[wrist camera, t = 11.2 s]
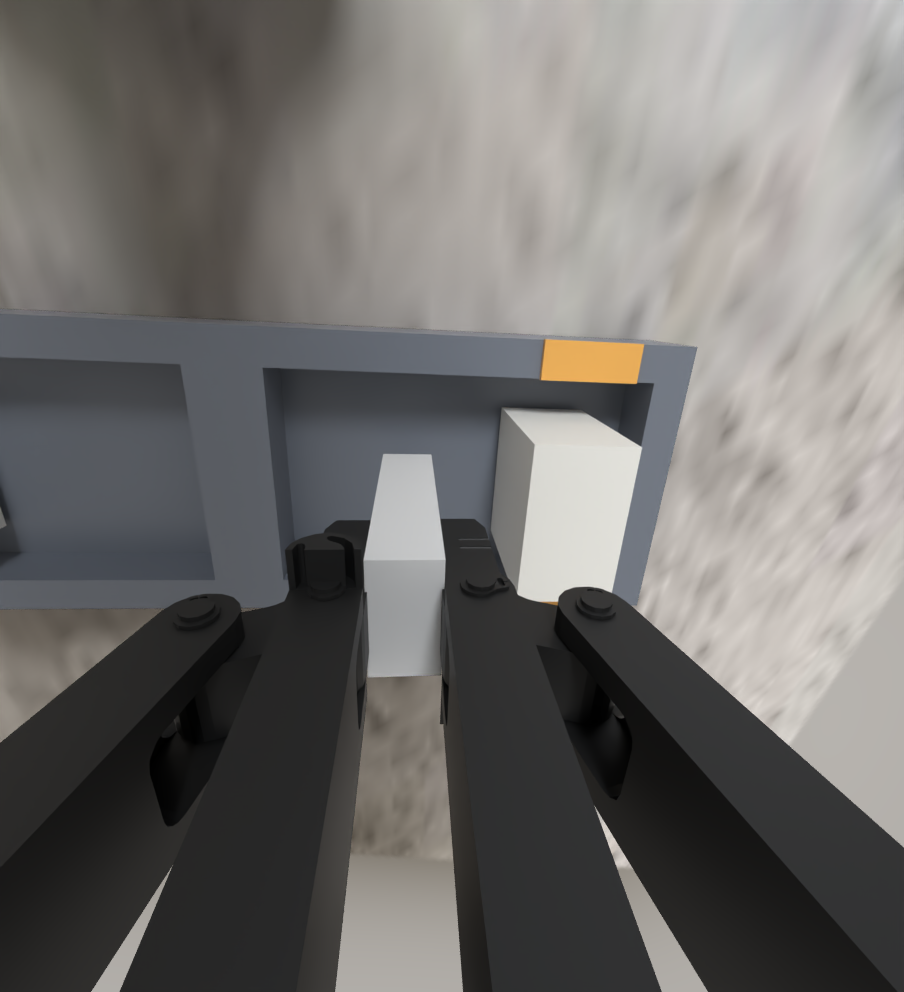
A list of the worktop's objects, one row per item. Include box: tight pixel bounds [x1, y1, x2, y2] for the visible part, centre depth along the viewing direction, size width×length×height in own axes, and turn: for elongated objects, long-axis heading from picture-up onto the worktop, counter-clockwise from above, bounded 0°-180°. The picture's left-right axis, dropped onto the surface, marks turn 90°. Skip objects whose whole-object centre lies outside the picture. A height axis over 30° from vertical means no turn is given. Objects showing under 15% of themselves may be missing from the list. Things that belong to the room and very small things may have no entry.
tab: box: [491, 407, 642, 602], centre depth 16 cm, size 5×3×5 cm, turn 177°
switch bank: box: [0, 309, 697, 609], centre depth 17 cm, size 10×30×3 cm, turn 87°
